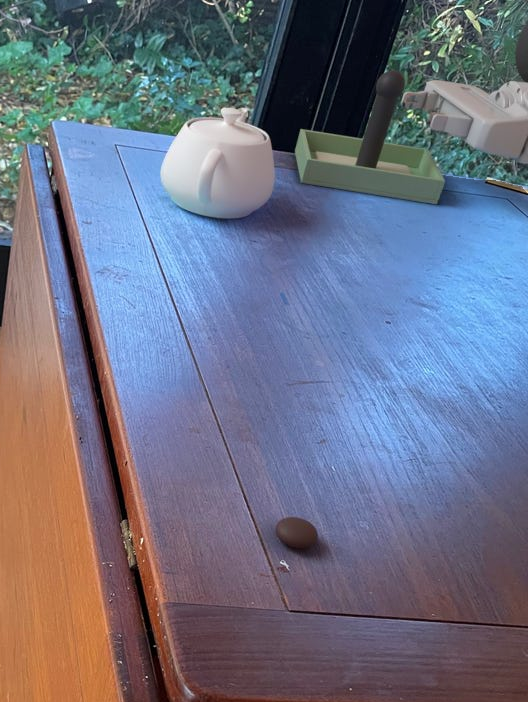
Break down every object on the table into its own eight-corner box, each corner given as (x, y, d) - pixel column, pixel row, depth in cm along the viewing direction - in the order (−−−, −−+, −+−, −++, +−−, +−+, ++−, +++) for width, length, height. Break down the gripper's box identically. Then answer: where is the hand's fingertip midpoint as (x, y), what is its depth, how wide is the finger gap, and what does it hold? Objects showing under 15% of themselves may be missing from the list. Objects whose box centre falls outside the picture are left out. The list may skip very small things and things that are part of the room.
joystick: (405, 169, 140) (439, 70, 132) (415, 190, 134) (451, 87, 125) (314, 155, 141) (342, 54, 132) (319, 175, 134) (349, 70, 125)
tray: (420, 171, 142) (428, 149, 140) (436, 204, 132) (445, 181, 130) (294, 151, 143) (300, 128, 141) (301, 183, 132) (307, 159, 130)
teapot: (252, 245, 113) (277, 144, 106) (136, 218, 115) (154, 118, 108) (279, 189, 129) (303, 98, 122) (178, 167, 131) (195, 76, 124)
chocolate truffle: (266, 542, 70) (272, 524, 69) (281, 523, 72) (287, 505, 71) (305, 559, 69) (312, 541, 68) (320, 539, 71) (326, 521, 70)
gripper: (489, 72, 139) (397, 63, 137) (558, 116, 124) (456, 105, 122) (471, 121, 144) (381, 113, 141) (536, 169, 129) (437, 160, 127)
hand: (416, 110), depth 132 cm, fingers open, 8 cm apart
